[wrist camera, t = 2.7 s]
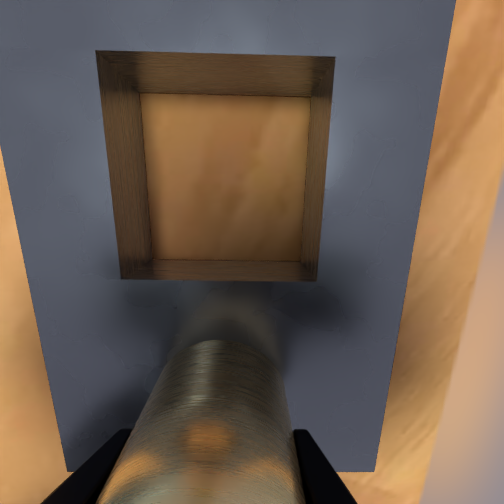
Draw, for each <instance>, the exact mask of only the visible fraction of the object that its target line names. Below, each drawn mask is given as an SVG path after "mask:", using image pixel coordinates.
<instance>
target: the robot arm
mask: <svg viewBox="0 0 504 504" xmlns="http://www.w3.org/2000/svg"><path fill="white" fill-rule="evenodd" d="M132 430H133V428H122V429H120V430H118V431H117V432H116V433H115V434H114V435H113V436H112V437H111V438H110V439H109V440H107V441H106V442H105V443H104V444H103V445H102V446H101V447H100V448H99V449H98V450H97V451H96V452H95V453H94V454H93V455H92V456H90V457H89V458H88V459H87V460H86V461H85V462H84V463H83V464H82V465H81V466H80V467H79V468H78V469H77V470H76V471H75V472H73V473H72V474H71V475H70V476H69V477H68V478H67V479H66V480H65V481H64V482H63V483H62V484H61V485H60V486H59V487H58V488H56V489H55V490H54V491H53V492H52V493H51V494H50V495H49V496H48V497H47V498H46V499H45V500H44V501H43V502H42V503H41V504H95V503H96V501H97V499H98V497H99V495H100V493H101V491H102V489H103V487H104V486H105V484H106V482H107V480H108V478H109V476H110V474H111V472H112V470H113V468H114V466H115V464H116V462H117V460H118V458H119V456H120V454H121V452H122V450H123V448H124V446H125V444H126V442H127V440H128V438H129V436H130V434H131V432H132ZM293 435H294V441H295V446H296V452H297V457H298V462H299V468H300V473H301V479H302V484H303V489H304V495H305V500H306V504H357V502H356V501H355V499H354V498H353V496H352V495H351V493H350V492H349V490H348V489H347V487H346V486H345V484H344V483H343V481H342V480H341V478H340V477H339V476H338V474H337V473H336V471H335V470H334V468H333V467H332V465H331V464H330V462H329V461H328V459H327V458H326V456H325V455H324V453H323V452H322V450H321V449H320V447H319V446H318V445H317V443H316V442H315V440H314V439H313V437H312V436H311V434H310V433H309V431H308V430H306V429H294V430H293Z"/></svg>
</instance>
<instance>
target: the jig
mask: <svg viewBox="0 0 504 504" xmlns="http://www.w3.org/2000/svg"><path fill="white" fill-rule="evenodd" d="M455 3H456V0H0V146H1V151H2V156H3V161H4V166H5V171H6V176H7V180H8V185H9V190H10V195H11V200H12V205H13V210H14V215H15V219H16V224H17V229H18V234H19V239H20V244H21V249H22V253H23V258H24V263H25V268H26V273H27V278H28V283H29V288H30V292H31V297H32V302H33V307H34V312H35V317H36V322H37V326H38V331H39V336H40V341H41V346H42V351H43V356H44V360H45V365H46V370H47V375H48V380H49V385H50V390H51V395H52V399H53V404H54V409H55V414H56V419H57V424H58V429H59V433H60V438H61V443H62V448H63V453H64V458H65V463H66V468H67V472H75V471H76V470H77V469H78V468H79V467H80V466H81V465H82V464H83V463H84V462H85V461H86V460H87V459H88V458H89V457H90V456H92V455H93V454H94V453H95V452H96V451H97V450H98V449H99V448H100V447H101V446H102V445H103V444H104V443H105V442H106V441H107V440H109V439H110V438H111V437H112V436H113V435H114V434H115V433H116V432H117V431H118V430H120V429H122V428H134V426H135V424H136V422H137V420H138V418H139V416H140V414H141V412H142V410H143V408H144V406H145V404H146V402H147V400H148V398H149V396H150V394H151V392H152V390H153V388H154V386H155V384H156V382H157V380H158V378H159V376H160V374H161V372H162V370H163V369H164V367H165V366H166V364H167V363H168V362H169V361H170V360H171V359H172V358H173V357H174V356H175V355H176V354H177V353H179V352H180V351H182V350H183V349H185V348H187V347H189V346H191V345H194V344H197V343H200V342H204V341H210V340H230V341H235V342H239V343H243V344H246V345H248V346H250V347H253V348H255V349H256V350H258V351H260V352H261V353H263V354H264V355H265V356H266V357H268V358H269V359H270V360H271V361H272V362H273V364H274V365H275V366H276V368H277V369H278V371H279V373H280V375H281V377H282V379H283V382H284V387H285V392H286V398H287V403H288V409H289V414H290V419H291V425H292V430H294V429H306V430H308V431H309V433H310V434H311V436H312V437H313V439H314V440H315V442H316V443H317V445H318V446H319V447H320V449H321V450H322V452H323V453H324V455H325V456H326V458H327V459H328V461H329V462H330V464H331V465H332V467H333V468H334V470H335V471H336V472H374V470H375V465H376V459H377V453H378V447H379V442H380V436H381V430H382V424H383V418H384V413H385V407H386V401H387V395H388V390H389V384H390V378H391V372H392V367H393V361H394V355H395V349H396V343H397V338H398V332H399V326H400V320H401V315H402V309H403V303H404V297H405V292H406V286H407V280H408V274H409V269H410V263H411V257H412V251H413V245H414V240H415V234H416V228H417V222H418V217H419V211H420V205H421V199H422V194H423V188H424V182H425V176H426V170H427V165H428V159H429V153H430V147H431V142H432V136H433V130H434V124H435V119H436V113H437V107H438V101H439V96H440V90H441V84H442V78H443V72H444V67H445V61H446V55H447V49H448V44H449V38H450V32H451V26H452V21H453V15H454V9H455ZM139 92H140V93H182V94H223V95H265V96H307V97H311V106H310V122H309V137H308V152H307V168H306V183H305V198H304V214H303V229H302V244H301V260H300V261H237V260H164V259H153V258H152V245H151V233H150V220H149V208H148V195H147V182H146V170H145V157H144V145H143V132H142V119H141V107H140V94H139Z"/></svg>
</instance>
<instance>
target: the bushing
mask: <svg viewBox="0 0 504 504" xmlns="http://www.w3.org/2000/svg"><path fill="white" fill-rule="evenodd" d="M95 504H306V500H305V495H304V489H303V484H302V479H301V473H300V468H299V462H298V457H297V452H296V446H295V441H294V435H293V430H292V425H291V419H290V414H289V409H288V403H287V398H286V392H285V387H284V382H283V379H282V377H281V375H280V373H279V371H278V369H277V368H276V366H275V365H274V364H273V362H272V361H271V360H270V359H269V358H268V357H266V356H265V355H264V354H263V353H261V352H260V351H258V350H256V349H255V348H253V347H250V346H248V345H246V344H243V343H239V342H235V341H230V340H210V341H204V342H200V343H197V344H194V345H191V346H189V347H187V348H185V349H183V350H182V351H180V352H179V353H177V354H176V355H175V356H174V357H173V358H172V359H171V360H170V361H169V362H168V363H167V364H166V366H165V367H164V369H163V370H162V372H161V374H160V376H159V378H158V380H157V382H156V384H155V386H154V388H153V390H152V392H151V394H150V396H149V398H148V400H147V402H146V404H145V406H144V408H143V410H142V412H141V414H140V416H139V418H138V420H137V422H136V424H135V426H134V428H133V430H132V432H131V434H130V436H129V438H128V440H127V442H126V444H125V446H124V448H123V450H122V452H121V454H120V456H119V458H118V460H117V462H116V464H115V466H114V468H113V470H112V472H111V474H110V476H109V478H108V480H107V482H106V484H105V486H104V487H103V489H102V491H101V493H100V495H99V497H98V499H97V501H96V503H95Z"/></svg>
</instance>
